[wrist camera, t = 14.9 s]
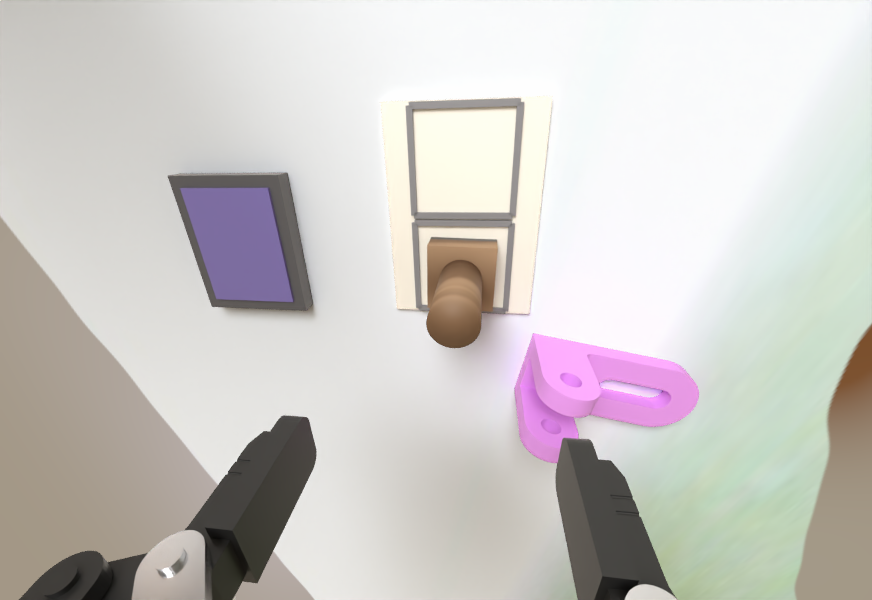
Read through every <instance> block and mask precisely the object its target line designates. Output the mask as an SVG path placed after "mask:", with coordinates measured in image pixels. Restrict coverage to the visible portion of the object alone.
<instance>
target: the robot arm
mask: <svg viewBox="0 0 872 600" xmlns="http://www.w3.org/2000/svg"><path fill="white" fill-rule="evenodd" d="M315 461H316V447H315V443H314V439H313V435H312V431H311V427H310V422H309V420H308V418H307V417H298V416H282V417H281V418H279V420H278V421H277V423H276V424H275V425H274V427H273V428H272V430H271V431H270V432H267V431H264V432H262V433H261V434H260V435H259V436H257V437H256V438H255V439H254V440H253V441H251V442H250V443H249V444H248V445H247V446H246V448H245V449H244V451H243V452H242V453H241V455H240V456H239V457H238V459H237V462H235V463H234V464H233V466H232V467H231V468H230V470H229V471H228V474H227V475H225V477H224V478H223V479H222V481H221V482H220V483H219V485H218V486H217V488H216V489H215V490H214V492H213V493H212V495H211V496H210V497H209V499H208V500H207V501H206V503H205V504H204V505H203V507H202V508H201V510H200V511H199V512H198V514H197V515H196V516H195V518H194V519H193V521H192V522H191V523H190V524H189V526H188V527H187V528H186V529H185V530H184V531H180V532H178V533H175V534H172V535H171V536H169V537H167V538H165V539H164V540H162V541H161V542H160V543H158V544H157V545H156V546H155V547H154V548H153V549H152V550H151V551H150V552H149V553H146V554H142V555H138V556H133V557H129V558H125V559H120V560H116V561H111V562H107V561H106V560H105V559H104V558H103V557H102V555H101V554H100V553H98V552H96V551H85V552H80V553H78V554H75V555H72V556H70V557H68V558H66V559H64V560H62V561H61V562H59V563H58V564H56V565H54V566H53V567H52V568H50V569H49V570H48V571H47V572H46V573H44V574H43V575H42V576H41V577H40V578H39V579H38V580H37V581H36V582H35V583H34V584H33V585H32V586H31V587H30V588H29V590H28V591H27V592H26V593H25V594H24V595H23V596H22V597H21V598H20V599H19V600H236V598H235V594H236V592H237V591H238V589H239V587H240V585H241V583H242V581H244V582H252V583H258V581H259V579H260V577H261V574H262V572H263V570H264V568H265V566H266V564H267V562H268V560H269V558H270V556H271V554H272V552H273V550H274V548H275V546H276V544H277V542H278V540H279V538H280V536H281V534H282V532H283V530H284V528H285V526H286V523H287V521H288V519H289V517H290V515H291V513H292V511H293V509H294V507H295V505H296V503H297V501H298V499H299V497H300V495H301V493H302V491H303V489H304V487H305V485H306V483H307V481H308V479H309V477H310V474H311V472H312V470H313V468H314V465H315ZM556 491H557V497H558V502H559V507H560V512H561V517H562V522H563V527H564V532H565V537H566V542H567V547H568V552H569V557H570V562H571V567H572V572H573V577H574V583H575V588H576V593H577V598H578V600H678V599H677V598H676V597H675V596H674V594H673V593H672V591H671V589H670V588H669V586H668V584H667V581H666V579H665V577H664V574H663V572H662V569H661V567H660V564H659V562H658V559H657V557H656V554H655V552H654V549H653V547H652V544H651V542H650V539H649V537H648V534H647V532H646V529H645V527H644V524H643V522H642V519H641V517H639V512H638V509H637V507H636V504H635V502H634V501H633V498H632V497H633V496H632V494H631V491H630V489H629V486H628V484H627V481H626V479H625V477H624V476H623V475H622V473H621V472H620V471H619V470H618V469H617V467H616V466H615V465H614V464H613V463H612V462H611V461H609V460H598V458H597V455H596V452H595V449H594V446H593V444H592V442H591V440H589V439H576V438H563V439H562V443H561V448H560V453H559V458H558V464H557V469H556Z"/></svg>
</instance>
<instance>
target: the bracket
mask: <svg viewBox="0 0 872 600" xmlns="http://www.w3.org/2000/svg"><path fill="white" fill-rule="evenodd" d="M605 380H616V381H621V382H626V383H631V384H636V385H641V386H645V387H650V388H655V389H660V390H663V391H662V392H661V393H660V394H659V395H658V396H655V397H651V398H647V397H642V396H637V395H632V394H628V393H623V392H618V391H613V390H608V389H603V388H601V387H600V385H599V383H601V382H602V381H605ZM515 398H516V407H517V416H518V426H519V435H520V439H521V441H522V443H523V445H524V446H525V447H526V449H527V450H528V451H529V452H530V453H532V454H533V455H534V456H536V457H537V458H539V459H541V460H544V461H547V462H551V463H558V458H559V453H560V448H561V443H562V439H563V438H576V439H578V431H577V428H576V424H575V421H574V418H573V417H575V418H581V417H586V416H588V415H589V414H590V415H595V416H599V417H604V418H609V419H614V420H618V421H623V422H628V423H633V424H637V425H642V426H649V427H656V426H664V425H668V424H672V423H674V422H677V421H679V420H681V419H682V418H684V417H685V416H687V415H688V414H689V413H690V412H691V411H692V410H693V409H694V407H695V406H696V404H697V401H698V398H699V390H698V387H697V385H696V383H695V382H694V381H693V379H692V378H691V377H690V376H689V374H688V373H687V372H686V371H685V370H684V369H683V368H682V367H681V366H680V365H678V364H676V363H674V362H671V361H667V360H662V359H657V358H652V357H647V356H642V355H637V354H632V353H628V352H623V351H618V350H613V349H608V348H603V347H598V346H593V345H588V344H583V343H578V342H573V341H568V340H563V339H558V338H553V337H548V336H544V335H539V334H534V333H533V335H532V338H531V341H530V344H529V347H528V350H527V353H526V356H525V359H524V362H523V365H522V368H521V371H520V374H519V377H518V380H517V383H516V386H515Z"/></svg>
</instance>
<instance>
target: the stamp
mask: <svg viewBox="0 0 872 600" xmlns="http://www.w3.org/2000/svg"><path fill="white" fill-rule="evenodd" d="M497 253H498V245H497V240H496V239H471V238H445V237H431V239H430V241H429V243H428V245H427V303H428V308H430V310H429V313H428V316H427V322H426V325H427V330H428V332H429V334H430V336H431V337H432V338H433V339H434V340H435V341H436V342H437V343H439V344H441V345H443V346H445V347H449V348H461V347H465V346H467V345H469V344H471V343H472V342H473V341H475V339H476V338H477V337H478V335H479V333H480V330H481V311H488V312H493V301H494V289H495V277H496V265H497Z"/></svg>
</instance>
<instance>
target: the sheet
mask: <svg viewBox="0 0 872 600" xmlns="http://www.w3.org/2000/svg"><path fill="white" fill-rule="evenodd" d="M552 97H553V96H537V97H508V98H478V99H449V100H420V101H390V102H381V114H382V127H383V139H384V152H385V164H386V177H387V189H388V202H389V215H390V227H391V240H392V252H393V265H394V278H395V290H396V303H397V309H415V310H423V311H429V310H430V308H428V303H427V245H428V243H429V241H430V239H431V237H445V238H471V239H496V240H497V245H498V253H497V265H496V277H495V289H494V301H493V312H488V311H481V313H498V314H505V313H515V314H529V311H530V302H531V293H532V283H533V274H534V265H535V255H536V246H537V237H538V227H539V218H540V209H541V199H542V190H543V181H544V172H545V162H546V153H547V144H548V134H549V125H550V116H551V106H552Z"/></svg>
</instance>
